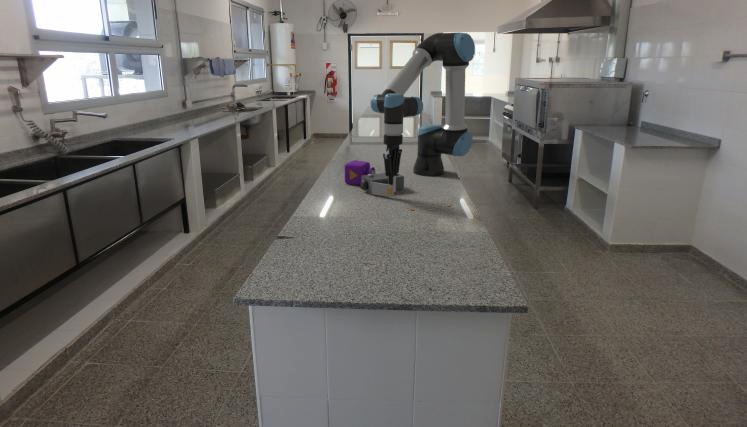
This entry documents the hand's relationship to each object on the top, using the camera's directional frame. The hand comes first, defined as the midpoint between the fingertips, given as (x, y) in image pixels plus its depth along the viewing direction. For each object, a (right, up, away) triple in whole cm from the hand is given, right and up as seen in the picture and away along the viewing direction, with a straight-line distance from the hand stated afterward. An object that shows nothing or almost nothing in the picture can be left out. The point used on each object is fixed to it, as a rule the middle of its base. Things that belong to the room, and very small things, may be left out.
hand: (391, 191), depth 200 cm
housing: (-4, +1, +12) cm, 13 cm away
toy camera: (-13, +5, +22) cm, 26 cm away
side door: (-4, -2, +1) cm, 5 cm away
